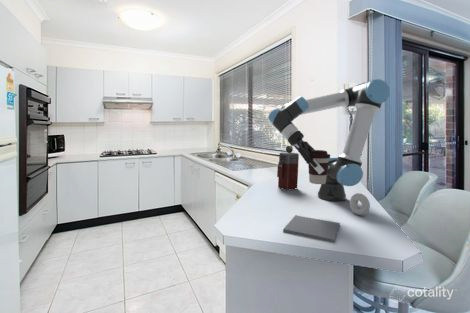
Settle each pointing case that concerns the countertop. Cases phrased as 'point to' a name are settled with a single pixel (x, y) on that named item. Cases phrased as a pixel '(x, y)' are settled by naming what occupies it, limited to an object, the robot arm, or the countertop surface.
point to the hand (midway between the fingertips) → (324, 170)
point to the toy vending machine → (288, 169)
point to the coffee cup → (322, 160)
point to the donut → (364, 202)
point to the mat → (313, 228)
